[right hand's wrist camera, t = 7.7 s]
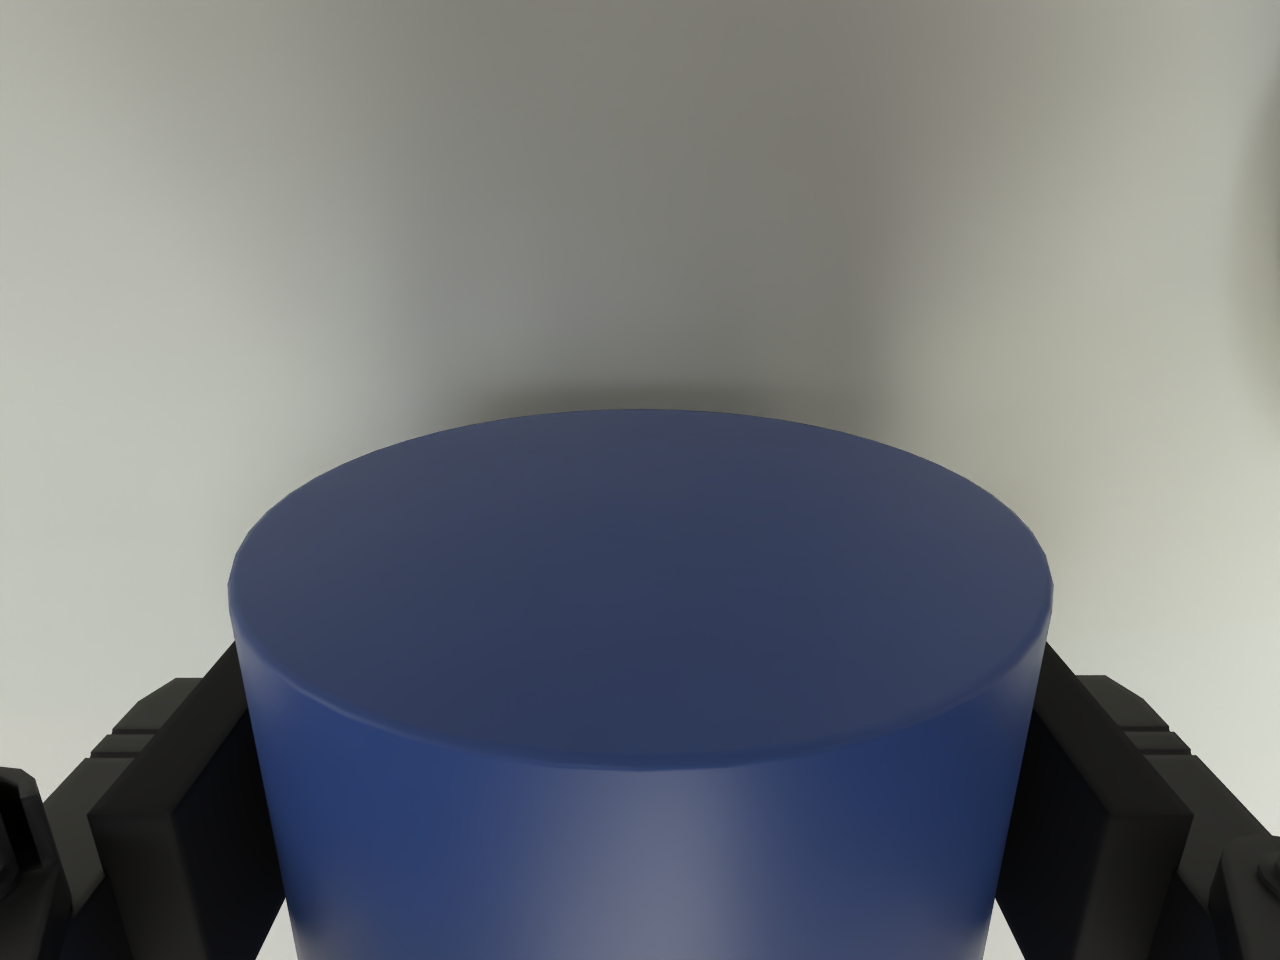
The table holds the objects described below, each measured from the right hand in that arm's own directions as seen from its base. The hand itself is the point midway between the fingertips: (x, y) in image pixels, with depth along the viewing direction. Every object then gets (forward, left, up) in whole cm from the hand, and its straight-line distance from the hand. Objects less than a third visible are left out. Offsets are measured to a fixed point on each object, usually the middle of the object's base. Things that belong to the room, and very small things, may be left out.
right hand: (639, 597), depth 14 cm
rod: (+4, +7, -1) cm, 8 cm away
